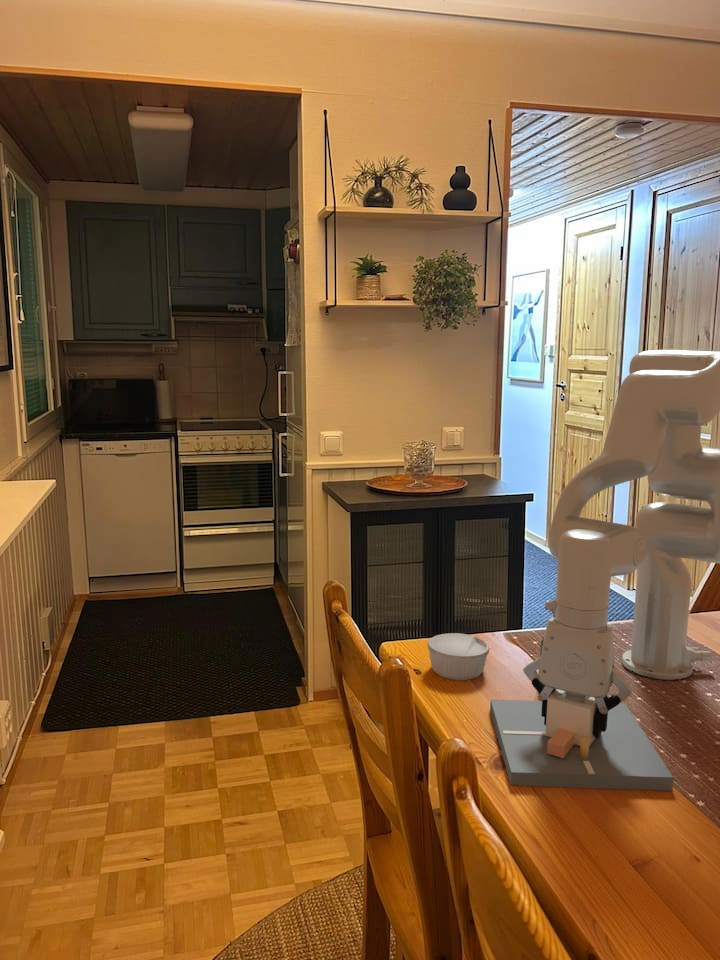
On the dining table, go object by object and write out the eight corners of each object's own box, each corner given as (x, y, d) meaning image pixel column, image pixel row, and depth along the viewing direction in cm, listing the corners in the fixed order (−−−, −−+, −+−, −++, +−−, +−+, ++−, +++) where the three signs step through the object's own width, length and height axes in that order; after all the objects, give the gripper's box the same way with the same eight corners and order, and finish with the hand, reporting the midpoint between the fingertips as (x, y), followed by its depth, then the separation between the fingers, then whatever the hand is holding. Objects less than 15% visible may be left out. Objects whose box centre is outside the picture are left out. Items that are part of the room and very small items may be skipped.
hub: (560, 718, 121) (562, 682, 120) (601, 730, 117) (603, 693, 116) (533, 749, 112) (535, 710, 111) (577, 762, 108) (579, 722, 107)
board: (624, 714, 127) (628, 665, 126) (672, 790, 106) (677, 732, 104) (490, 710, 128) (492, 661, 127) (510, 785, 106) (513, 727, 105)
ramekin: (497, 680, 140) (498, 653, 139) (439, 686, 137) (440, 658, 136) (473, 656, 151) (474, 630, 150) (419, 661, 148) (420, 635, 147)
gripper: (515, 611, 114) (509, 724, 117) (638, 633, 106) (628, 754, 109) (530, 597, 120) (524, 704, 123) (647, 617, 112) (637, 732, 115)
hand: (573, 727), depth 116 cm, fingers closed on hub, 6 cm apart
